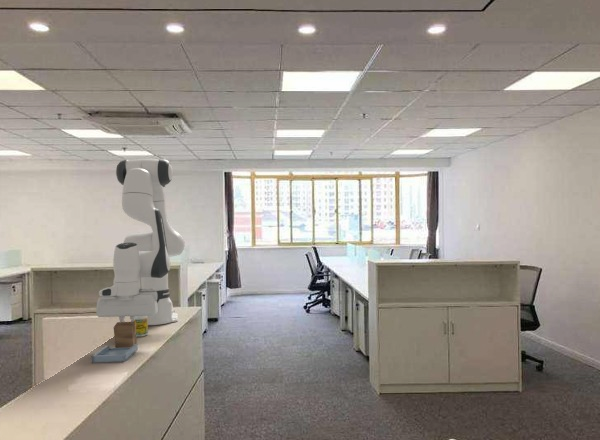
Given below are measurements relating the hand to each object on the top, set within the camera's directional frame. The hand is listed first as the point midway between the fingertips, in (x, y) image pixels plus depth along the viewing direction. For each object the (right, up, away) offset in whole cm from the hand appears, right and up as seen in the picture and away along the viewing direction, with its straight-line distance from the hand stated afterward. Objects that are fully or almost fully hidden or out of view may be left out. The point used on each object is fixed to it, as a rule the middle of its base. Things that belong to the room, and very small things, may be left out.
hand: (127, 329), depth 158 cm
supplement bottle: (-1, -6, +15) cm, 16 cm away
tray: (+1, -6, -13) cm, 14 cm away
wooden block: (0, -5, -2) cm, 6 cm away
